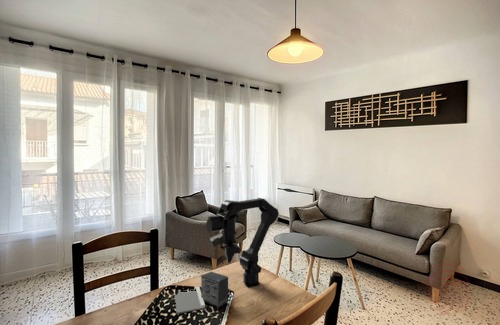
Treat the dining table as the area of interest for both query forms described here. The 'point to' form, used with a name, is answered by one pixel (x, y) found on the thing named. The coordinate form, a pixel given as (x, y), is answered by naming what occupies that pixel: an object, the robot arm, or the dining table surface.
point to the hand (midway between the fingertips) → (229, 262)
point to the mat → (189, 301)
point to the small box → (214, 288)
